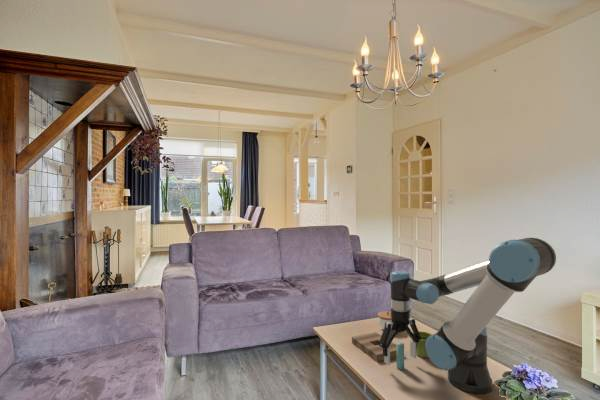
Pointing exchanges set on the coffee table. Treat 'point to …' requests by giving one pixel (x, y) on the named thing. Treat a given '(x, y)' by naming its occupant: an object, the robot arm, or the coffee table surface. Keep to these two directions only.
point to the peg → (400, 356)
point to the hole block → (373, 346)
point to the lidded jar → (384, 318)
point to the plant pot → (422, 344)
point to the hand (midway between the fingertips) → (400, 360)
